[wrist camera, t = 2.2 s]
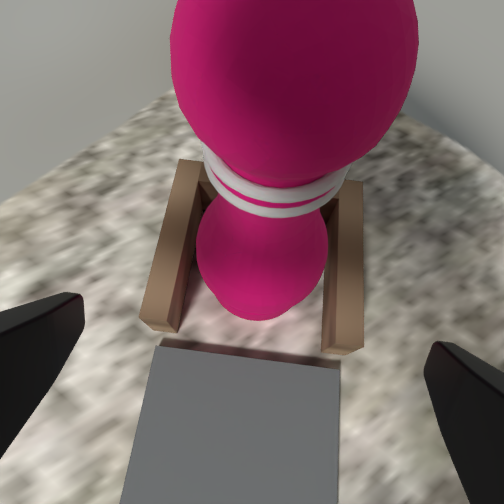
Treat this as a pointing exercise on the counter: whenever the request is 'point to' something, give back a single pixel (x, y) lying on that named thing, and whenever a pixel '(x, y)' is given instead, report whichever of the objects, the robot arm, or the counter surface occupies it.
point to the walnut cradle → (335, 271)
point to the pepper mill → (283, 128)
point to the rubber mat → (234, 432)
